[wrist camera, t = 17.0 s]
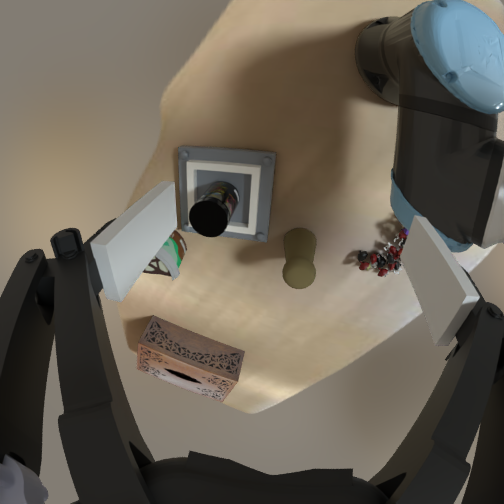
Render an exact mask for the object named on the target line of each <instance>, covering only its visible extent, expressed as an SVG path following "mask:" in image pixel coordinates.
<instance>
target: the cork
mask: <svg viewBox="0 0 504 504" xmlns="http://www.w3.org/2000/svg"><path fill="white" fill-rule="evenodd" d="M284 249H285V257H286V264H285V265H284V268H283V278H284V280H285V282H286V283H287V284H288V285H289V286H290V287H292V288H295V289H303V288H306V287H308V286H310V285H311V284H312V283H313V281H314V279H315V276H316V269H315V267H314V264H313V260H314V255H315V249H316V238H315V236H314V234H313V233H312V232H311V231H309V230H307V229H304V228H296V229H293V230H291V231H289V232H288V233H287V234H286V236H285V238H284Z"/></svg>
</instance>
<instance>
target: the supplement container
mask: <svg viewBox="0 0 504 504" xmlns="http://www.w3.org/2000/svg"><path fill="white" fill-rule="evenodd" d="M239 200H240V196H239V193H238V190H237V189H236V188H235V186H233V185H232V184H231V183H229V182H225V181H218V182H215V183H213V184H212V185H210V187H209V188H208V189H207V190H206V191H205V192H204V193H203V195H202V196H201V197H200V198H199V199H198V200H197V201H196V202H195V204H194V205H193V206H192V208H191V209H190V212H189V221H190V224H191V226H192V227H193V229H194V230H195V231H196V232H197V233H199V234H201V235H203V236H206V237H216V236H219V235H221V234H222V233H223V232H224V231H225V230H226V228H227V226H228V224H229V222H230V220H231V218H232V216H233V214H234V212H235V210H236V208H237V206H238V204H239Z"/></svg>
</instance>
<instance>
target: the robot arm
mask: <svg viewBox="0 0 504 504" xmlns="http://www.w3.org/2000/svg"><path fill="white" fill-rule="evenodd" d="M355 59H356V64H357V67H358V70H359V72H360V74H361V76H362V78H363V80H364V81H365V83H366V84H367V85H368V86H369V88H370V89H371V90H372V91H373V92H374V93H376V94H377V95H378V96H379V97H381V98H382V99H384V100H386V101H388V102H390V103H393V104H396V105H399V106H398V121H397V134H396V145H395V155H394V163H393V168H392V170H391V180H392V186H391V196H390V202H391V207H392V209H393V211H394V214H395V216H396V217H397V219H398V220H399V221H400V223H401V224H402V225H403V226H404V227H405V228H406V229H407V230H408V231H409V233H408V236H407V239H406V242H405V245H404V247H403V250H402V253H401V255H400V259H401V261H402V263H403V265H404V267H405V270H406V272H407V274H408V276H409V279H410V281H411V283H412V286H413V288H414V291H415V293H416V295H417V298H418V300H419V303H420V305H421V308H422V311H423V313H424V316H425V319H426V321H427V324H428V327H429V330H430V332H431V335H432V338H433V341H434V344H435V345H436V346H437V345H438V346H448V345H449V344H450V342H451V341H452V340H453V338H454V337H455V336H456V339H457V341H458V343H457V344H456V346H455V347H454V348H453V350H452V351H451V352H450V353H449V355H448V356H447V357H446V359H445V360H446V361H447V360H448V359H449V360H448V362H447V364H446V366H445V368H444V371H443V372H442V375H441V377H440V379H439V381H438V383H437V385H436V387H435V389H434V390H433V392H432V394H431V396H430V398H429V400H428V401H427V403H426V405H425V407H424V408H423V410H422V412H421V413H420V415H419V417H418V419H417V420H416V422H415V423H414V425H413V426H412V428H411V430H410V431H409V433H408V434H407V436H406V437H405V439H404V440H403V442H402V443H401V445H400V446H399V447H398V449H397V450H396V452H395V453H394V454H393V456H392V457H391V458H390V460H389V461H388V462H387V464H386V465H385V466H384V467H383V468H382V469H381V470H380V471H379V472H378V473H377V474H376V475H375V476H373V478H371V479H370V480H369V481H368V482H367V481H365V480H363V479H360V478H357V477H353V469H311V470H305V471H300V472H294V473H287V474H280V475H269V474H265V473H263V472H260V471H257V470H255V469H252V468H249V467H247V466H244V465H242V464H239V463H237V462H235V461H232V460H230V459H224V458H219V457H215V456H209V455H206V454H201V453H197V452H193V451H190V452H189V455H188V457H178V458H170V459H163V460H160V461H156V462H155V460H154V458H153V456H152V454H151V452H150V450H149V449H148V447H147V445H146V444H145V442H144V440H143V438H142V436H141V434H140V431H139V429H138V426H137V424H136V421H135V419H134V416H133V414H132V411H131V408H130V405H129V403H128V400H127V397H126V394H125V391H124V388H123V385H122V382H121V379H120V376H119V372H118V369H117V366H116V362H115V359H114V355H113V352H112V348H111V344H110V340H109V337H108V332H107V328H106V324H105V319H104V315H103V310H102V305H101V300H100V297H99V292H100V291H101V290H102V289H104V292H105V295H106V298H107V299H110V300H114V301H118V302H122V300H123V299H124V297H125V296H126V295H127V293H128V292H129V290H130V289H131V287H132V286H133V285H134V283H135V282H136V280H137V279H138V278H139V276H140V275H141V273H142V272H143V271H144V269H145V268H146V267H147V265H148V264H149V263H150V261H151V260H152V259H153V257H154V256H155V255H156V253H157V252H158V251H159V249H160V248H161V247H162V245H163V244H164V243H165V241H166V240H167V239H168V238H169V236H170V235H171V234H172V232H173V231H174V230H175V229H176V227H177V215H176V199H175V182H171V181H161V182H160V183H159V184H158V185H156V186H155V187H154V188H152V189H151V190H150V191H149V192H148V193H146V194H145V195H144V196H143V197H141V198H140V199H139V200H138V201H137V202H135V203H134V204H133V205H132V206H131V207H129V208H128V209H127V210H126V211H125V212H124V213H123V214H121V215H120V216H119V217H118V218H115V219H113V220H111V221H109V222H107V223H106V224H105V225H104V226H103V227H102V228H101V229H99V230H98V231H97V232H96V234H94V235H93V236H92V237H90V238H89V239H88V240H87V241H86V242H85V243H84V244H83V242H82V238H81V234H80V231H79V230H78V229H76V228H68V229H64V230H62V231H59V232H58V233H56V234H55V235H54V236H53V237H52V238H51V240H50V242H51V245H52V248H53V251H54V254H55V257H56V258H53V259H46V257H45V254H44V252H43V250H41V249H34V250H29V251H28V252H26V253H25V254H24V255H23V256H22V257H21V258H20V260H19V261H18V263H17V265H16V267H15V269H14V271H13V273H12V275H11V277H10V279H9V281H8V283H7V285H6V287H5V289H4V291H3V293H2V295H1V297H0V504H45V503H44V501H46V500H47V499H48V491H47V489H46V488H45V487H44V486H43V485H42V482H41V480H40V479H39V474H40V466H41V459H42V428H43V412H44V400H45V390H46V382H47V375H48V368H49V361H50V356H51V350H52V345H53V340H54V335H55V341H56V355H57V365H58V373H59V381H60V388H61V394H62V401H63V406H64V414H62V415H60V416H59V418H58V426H59V432H60V436H61V440H62V445H63V449H64V453H65V456H66V460H67V464H68V467H69V470H70V474H71V477H72V480H73V483H74V486H75V489H76V492H77V494H78V497H79V500H78V501H76V502H73V503H71V504H454V502H455V500H456V498H457V496H458V494H459V493H460V491H461V489H462V487H463V485H464V483H465V481H466V479H467V477H468V475H469V472H470V469H471V466H470V464H469V463H467V462H466V457H467V454H468V452H469V450H470V447H471V445H472V443H473V441H474V438H475V436H476V433H477V430H478V428H479V425H480V430H479V437H478V442H477V447H476V452H475V457H474V461H473V466H472V469H471V473H470V477H469V481H468V485H467V487H466V491H465V494H464V497H463V500H462V503H461V504H504V315H503V312H502V311H501V310H500V309H499V308H498V307H497V306H496V305H494V304H492V303H489V302H485V300H484V298H483V297H482V295H481V293H480V292H479V290H478V288H477V287H476V286H475V283H474V282H473V281H472V279H471V277H470V275H469V274H468V272H467V271H466V270H465V269H464V268H463V267H462V266H461V265H460V264H459V263H458V261H457V260H456V258H455V257H454V255H453V254H452V252H463V251H466V250H467V249H469V247H471V246H472V245H473V243H474V244H476V245H478V246H480V247H481V248H483V249H485V248H488V247H490V246H492V245H495V244H497V243H504V141H502V140H500V139H498V138H497V137H496V132H497V122H498V113H501V112H502V111H504V35H503V34H502V33H501V31H500V30H499V28H498V26H497V25H496V23H495V22H494V21H493V20H492V19H491V18H490V17H489V16H488V15H486V14H485V13H484V12H483V11H481V10H480V9H478V8H477V7H475V6H474V5H472V4H470V3H468V2H465V1H463V0H433V1H427V2H423V3H421V4H420V5H418V6H417V7H416V8H414V9H413V10H411V11H410V12H408V13H407V14H405V15H404V16H402V17H384V18H380V19H377V20H375V21H373V22H372V23H370V24H369V25H368V26H367V27H365V28H364V29H363V31H362V32H361V33H360V35H359V37H358V39H357V42H356V47H355ZM480 422H481V423H480Z"/></svg>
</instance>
